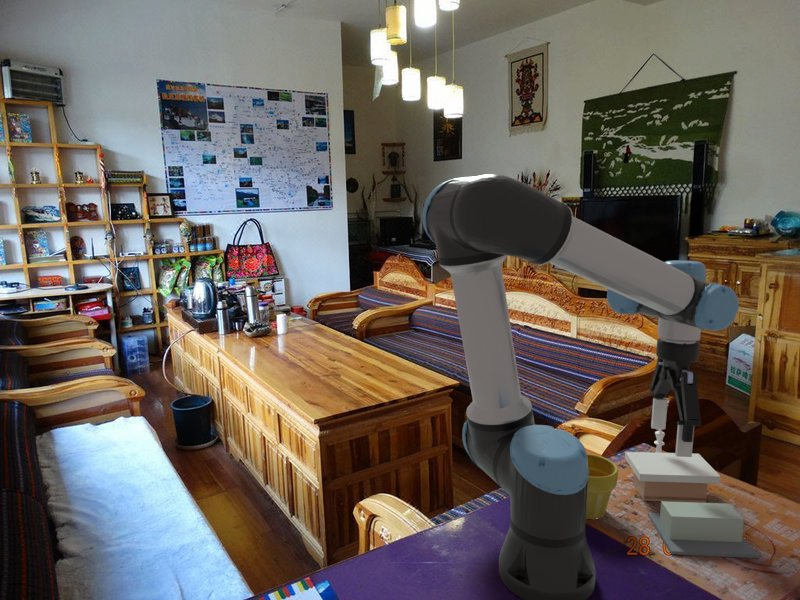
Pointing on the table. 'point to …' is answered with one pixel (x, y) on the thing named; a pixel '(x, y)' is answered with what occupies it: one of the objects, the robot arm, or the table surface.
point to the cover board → (671, 468)
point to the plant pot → (599, 485)
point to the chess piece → (659, 440)
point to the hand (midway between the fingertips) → (669, 441)
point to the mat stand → (702, 529)
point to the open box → (671, 491)
